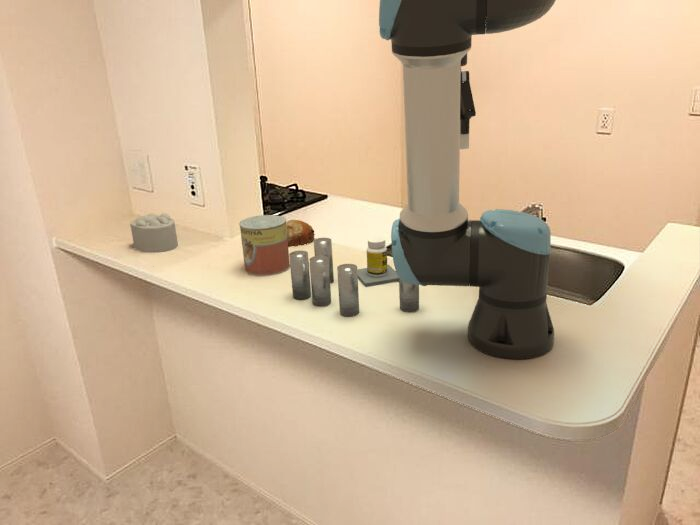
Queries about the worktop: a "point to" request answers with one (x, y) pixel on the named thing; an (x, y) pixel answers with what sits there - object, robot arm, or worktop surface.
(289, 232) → the bread roll
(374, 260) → the supplement bottle
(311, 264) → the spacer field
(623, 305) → the worktop surface
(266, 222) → the canned food
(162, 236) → the lumpy-topped squat cylinder
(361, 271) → the mat
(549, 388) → the worktop surface
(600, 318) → the worktop surface
